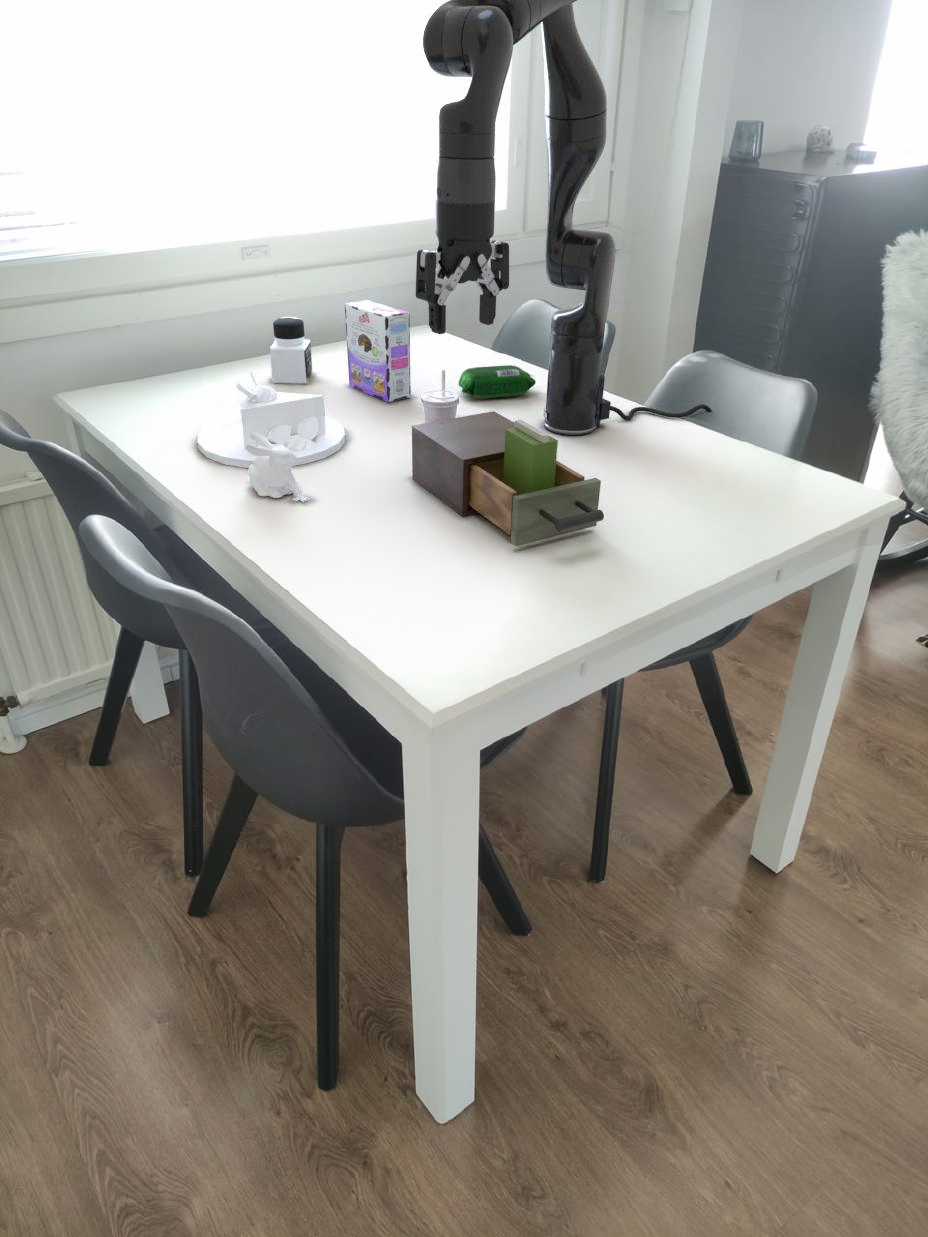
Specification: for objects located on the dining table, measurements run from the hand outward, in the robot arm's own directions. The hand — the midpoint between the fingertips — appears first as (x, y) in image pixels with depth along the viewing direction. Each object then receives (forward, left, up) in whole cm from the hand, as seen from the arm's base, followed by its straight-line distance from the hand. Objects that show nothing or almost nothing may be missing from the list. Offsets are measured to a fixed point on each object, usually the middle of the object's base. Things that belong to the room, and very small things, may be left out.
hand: (462, 328), depth 123 cm
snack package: (-32, -42, -26) cm, 59 cm away
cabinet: (-5, -4, -26) cm, 27 cm away
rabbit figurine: (+24, -17, -26) cm, 39 cm away
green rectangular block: (-5, +10, -24) cm, 26 cm away
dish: (+16, -38, -26) cm, 48 cm away
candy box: (-12, -54, -26) cm, 61 cm away
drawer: (-5, +13, -25) cm, 28 cm away
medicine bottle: (0, -70, -26) cm, 74 cm away
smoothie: (-7, -20, -26) cm, 33 cm away
